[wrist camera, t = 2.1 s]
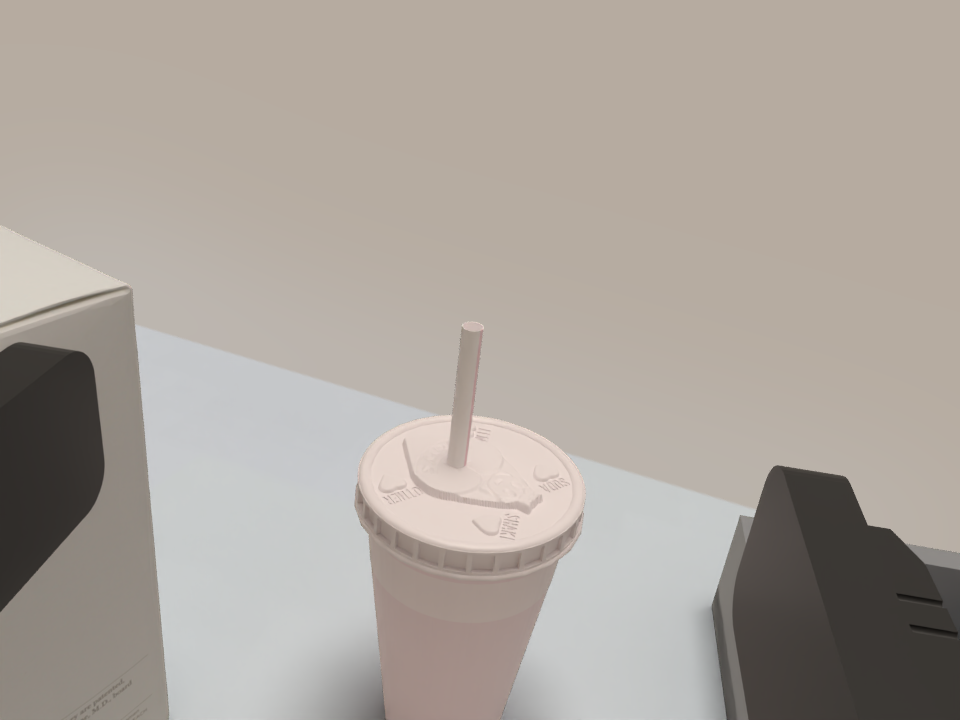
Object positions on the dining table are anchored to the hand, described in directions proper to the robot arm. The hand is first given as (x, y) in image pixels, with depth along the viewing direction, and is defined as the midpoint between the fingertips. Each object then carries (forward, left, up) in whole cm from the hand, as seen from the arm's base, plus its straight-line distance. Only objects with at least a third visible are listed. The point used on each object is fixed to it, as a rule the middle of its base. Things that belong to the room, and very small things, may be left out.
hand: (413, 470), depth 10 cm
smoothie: (0, +11, -18) cm, 21 cm away
